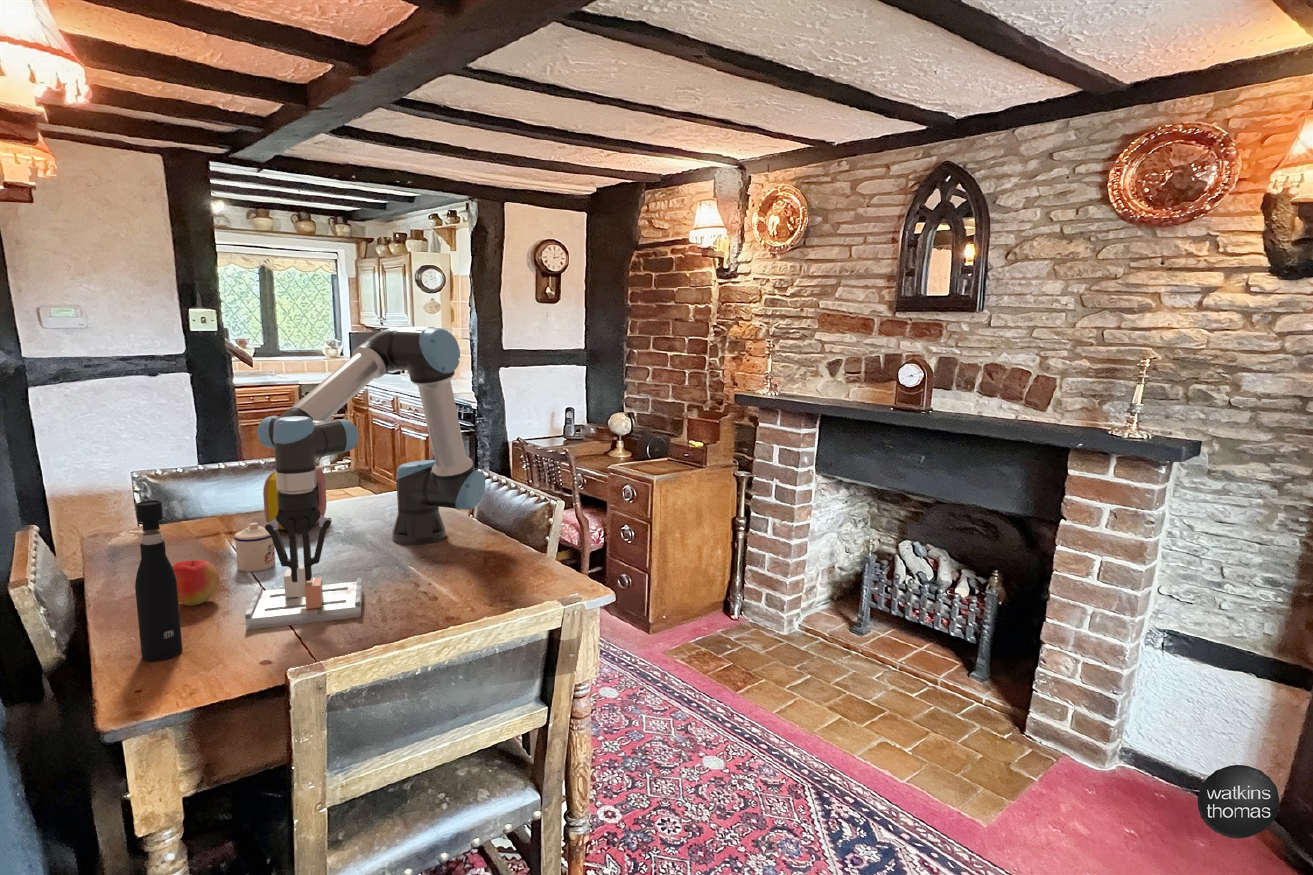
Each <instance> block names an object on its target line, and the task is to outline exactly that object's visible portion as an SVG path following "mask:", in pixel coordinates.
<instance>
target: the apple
mask: <svg viewBox="0 0 1313 875" xmlns="http://www.w3.org/2000/svg"><path fill="white" fill-rule="evenodd" d="M172 567H173V570H174V573H175V576H176V580H177V591H178V603H180V604H182V605H185V606H189V607H191V606H197V605H200V604H204V603H206V602H207V601H208V600H209V599H211V597H213V596H214V594H215V593H216V591H217V589H218V587H219V585H220V574H219V572H218V570H217V569H216V567H215V566H214V565H213V564H212V563H210V562H209V561H208V560H203V559H193V560H183V561H177V562H175V564H173V565H172Z"/></svg>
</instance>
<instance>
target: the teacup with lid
mask: <svg viewBox="0 0 1313 875" xmlns="http://www.w3.org/2000/svg"><path fill="white" fill-rule="evenodd" d="M233 539H234V540H235V542H234V543H235V552H236V568H237V570H238V571H240V572H245V573H253V572H255V573H256V572H261V571H265V570H269V569H271V568H272V567H274V566H275V565H276V554H275V553H276V552H275V551H276V549H275V546H274V543H273V540H272V538H271V535H270V534H269V533H268V532H267V531H266V530H265V526H261V525H259V523H258V522H251V523H249V526H247V527H245V528H244V529H243V530H240V531H238V532H236V533H235V534H234V537H233Z"/></svg>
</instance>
